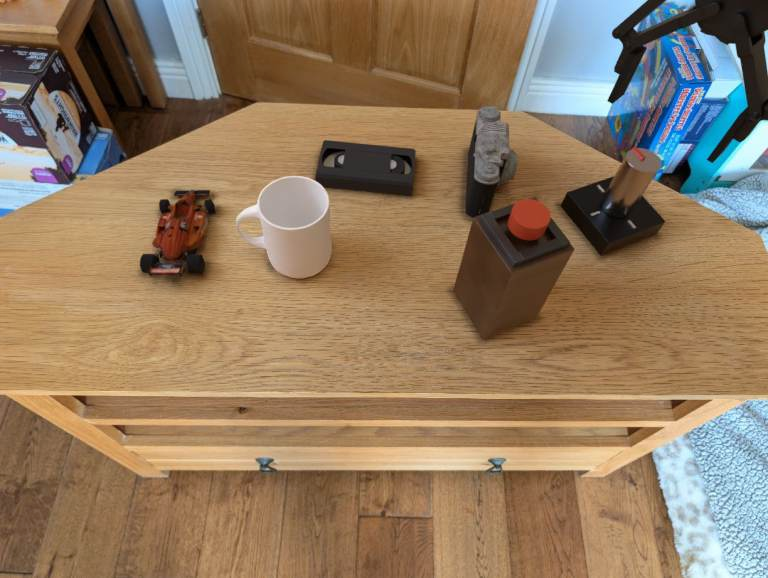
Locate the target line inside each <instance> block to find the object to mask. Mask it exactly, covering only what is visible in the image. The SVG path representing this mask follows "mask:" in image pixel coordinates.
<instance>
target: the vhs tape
mask: <svg viewBox="0 0 768 578" xmlns="http://www.w3.org/2000/svg"><path fill="white" fill-rule="evenodd" d="M416 153H417V151H416V149H414V148H410V147H409V148H407V147H399V146H388V145H381V144H379V145H378V144H369V143H361V142H360V143H358V142H349V141H338V140H329V139H328V140H327V139H325V140H323V141H322V145H321V149H320V154H319V158H318V163H317V168H316V172H315V175H314V180H315V181H316V182H318V183H319V184H321V185H322V186H323V187H324V188H325V189H327V188H328V189H338V190H347V191H356V192H357V191H358V192H367V193H377V194H388V195H396V196H397V195H398V196H407V197H412V194H413V190H414V189H413V188H414V177H415V163H416Z"/></svg>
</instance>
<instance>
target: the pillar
mask: <svg viewBox="0 0 768 578" xmlns="http://www.w3.org/2000/svg"><path fill="white" fill-rule="evenodd" d="M528 199H532V200H536V201H539V200H538V199H537V197H536V196H533V197H530V198H528ZM516 203H517V202H514V203H512V204H509V205H506V206H503V207H501V208H500V207H499V208H497V209H494V210H491V211H489V212H488V213H485V214H482V215H480V216H477V217H474V218H472V222H471V225H470V228H469V232H468V236H467V240H466V243H465V246H464V250H463V253H462V256H461V261H460V264H459V268H458V271H457V276H456V278H455V282H454V286H453V290H452V292H453V293H454V295H455V297H456V298H457V300H458V302H459V303H460V306H461V307H462V308H463V310H464V311H465V313H466V315H467V316H468V318H469V320H470V321H471V323H472V325H473V326H474V328H475V330H476V331H477V333H478V334H479V336H480V338H481V340H483V341H484V340H487V339H490V338H492V337H495V336H497V335H500V334H502V333H504V332H506V331H509V330H512V329H515V328H516V327H519V326H522V325H524V324H526V323H529V322H531V321H534V320H536V319H537V318H538V316H539V314H540V312H541V311H542V309H543V308H544V305H545V303H546V302H547V300H548V298H549V297H550V295H551V294H552V291H553V289H554V288H555V285H557V282H558V280H559V278H560V277H561V275H562V274H563V271H564V270H565V268H566V266H567V264H568V263H569V261H570V259H571V257H572V255H573V253H574V252H575V247H574V245H572V243H571V241H570V240H569V238H568V237H567V236H566V234H565V233H564V232H563V231H562V229H561V228H560V226H559V225H558V224H557V223H556V222H555V220H554V219H553V218H552V217H551V219H550V222H549V224H548V226H547V228H546V230H545V233H544V234H543V236H542V237H540V238H539V239H536V240H523V239H520V238H518V237H516V236H515V235H514V234H513V233H512V232H511V231H510V229H509V227H508V219H509V217H510V214H511V211H512V208H513V206H514V205H515V204H516Z"/></svg>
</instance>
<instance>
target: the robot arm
mask: <svg viewBox="0 0 768 578" xmlns="http://www.w3.org/2000/svg"><path fill="white" fill-rule="evenodd" d="M667 1H668V0H646V1H645V2H644V3H642V4H641V5H640V6H639V7H638V8H637V9H635V10H634V11H633V12H632V13H630V14H629V15H628V16H627V17H626V18H625V19H624V20H623V21H622V22H620V24H618V25H617V26H616V27H614V28H613V29H612V32H611V36H612V38H613V39H615V40H619V41H620V42H621V44H622V49H621V52H620V54H619V56H618V58H617V60H616V62H615V65H614V67H613V71H614V73H616V74H617V75H618V77H617V79H616V81H615V83H614V85H613V87H612V90H611V92H610V94H609V96H608V98H607V100H606V101H607V102H608V103H609V104H611V105H612V104H614V103H616V102H617V101H618V100H619V99H620V98H622V97H623V96H624V95H625V93H626V92H627V90H628V88H629V86H630V84H631V81H632V79H633V78H634V75H635V73H636V71H637V69H638V67H639V65H640V63H641V61H642V59H643V57H644V55H645V53H646V51H647V49H648V48H647V46H645V45H647V44H649V43H653V42H654V41H656V40H659V39H661V38H663V37H665V36H668V35H671V34H672V33H675V32H677V31H679V30H683V29H686V28H688V27H690V26H693V25H695V24H697V26H698V27H699V28H700V30H699V32H700V33H702V34H704V35H707V36H711V37H714V38H716V39H717V40H718V41H719V42H720V43H722V44H723V45H726V46H729V45H731V44H732V45H734V47H735V52H736V56H737V58H738V59H739V60H740V65H741V66H740V67H741V73H742V80H743V86H744V92H745V99H746V104H747V106H746V107H745V108H744V109H743V110H742V111H741V112H740V114H738V116H737V117H736V119H735V120H734V121H733V123H732V124H731V125H730V127H729V128H728V130H727V131H726V132H725V134H724V135H723V136H722V138H721V139H720V140H719V141H718V143H717V145H716V146H715V147H714V148H713V150H712V152H711V153H710V154H709V156H708V157H707V158H706V161H707V162H710V163H711V164H713V163H715V161H717V159H718V158H719V157H721V155H722V154H723V153H724V152H725V151H726V150H727V148H728V147H729V146H730V144H731V143H732V141H733V140H735V141H736V142H738V143H742V142H743V141H745V140H746V139H747V138H748V137H749V136H750V135H751V134H752V133H753V132H754V130H755V129H756V127H758V125H759V124H760V122H761V121H768V63H767V57H766V49H765V44H766V34H765V32H767V31H768V0H694V4H695V5H693V6H691V7H690V8H688V9H686V10H684V11H681V12H680V13H677V14H674V15H672V16H671V17H668V18H666V19H664V20H662V21H660V22H658V23H656V24H653V25H651V26H649V27H647V28H645V29H643V30H639V31H637V30H636V29H635V28H636V27H637V26H638V25H639V24H640V23H642V22H643V21H644V20H645V19H646V18H648V16H650V15H651V14H653V12H655V11H656V10H657V9H658V8H659V7H661V6H662V5H663V4H664V3H666V2H667Z"/></svg>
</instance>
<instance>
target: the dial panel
mask: <svg viewBox="0 0 768 578" xmlns="http://www.w3.org/2000/svg"><path fill="white" fill-rule="evenodd" d="M614 176H615V175H613V176H610V177H607V178H604V179H602V180H598V181H594V182H593V183H590V184H587V185H584V186H581V187H579V188H575V189H573V190H569V191H566V193H565V195H564V197H563V200H562V202H561V204H560V207H561V208H562V210H563V211H564V213H565V214H567V216H568V217H569V219H570V220H571V221H572V223H574V225H575V226H576V228H578V230H579V231H580V232H581V234H582V235H583V236H584V237H585V239H586V240H587V241H588V242H589V244H590V245H591V246H592V248H594V250H595V251H596V252H597V254H598V255H599V256H600V257H602V256H604V255H607V254H610V253H613V252H614V251H617V250H620V249H624V248H625V247H628V246H631V245H633V244H636V243H638V242H641V241H643V240H647V239H649V238H651V237H654V236H656V235H658V233H659V232H660V230H661V229H662V228H663V226H664V225H665V224H666V222H667V221H666V219H664V218H663V216H662V215H660V213H659V212H658V211H657V210H656V208H654V207H653V205H652V204H651V203H650V202H649V201H648V200H647V199H646V198H645V197H644V195H642V196H641V198H640V200H639V201H638V203H637V204H636V206H635V207H634V209H633V210H632V212H631V214H630V215H629V216H627V217H624V218H615V217H612V216H610V215H608V214H607V213H606V212H604V210H603V209H602V207H601V199H602V198H603V196H604V194H605V192H606V190H607V189H608V187H609V185H610V183H611V181H612V180H613V178H614Z"/></svg>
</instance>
